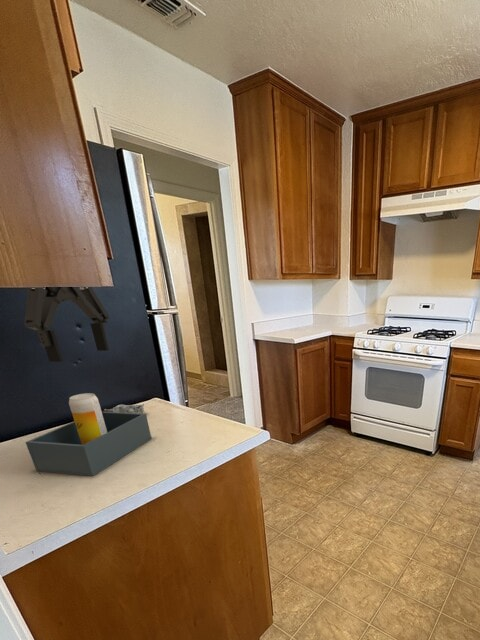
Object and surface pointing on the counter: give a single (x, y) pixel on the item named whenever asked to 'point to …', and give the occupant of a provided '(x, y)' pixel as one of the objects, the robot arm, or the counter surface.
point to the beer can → (87, 416)
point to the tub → (89, 445)
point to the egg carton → (127, 409)
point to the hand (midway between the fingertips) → (81, 355)
